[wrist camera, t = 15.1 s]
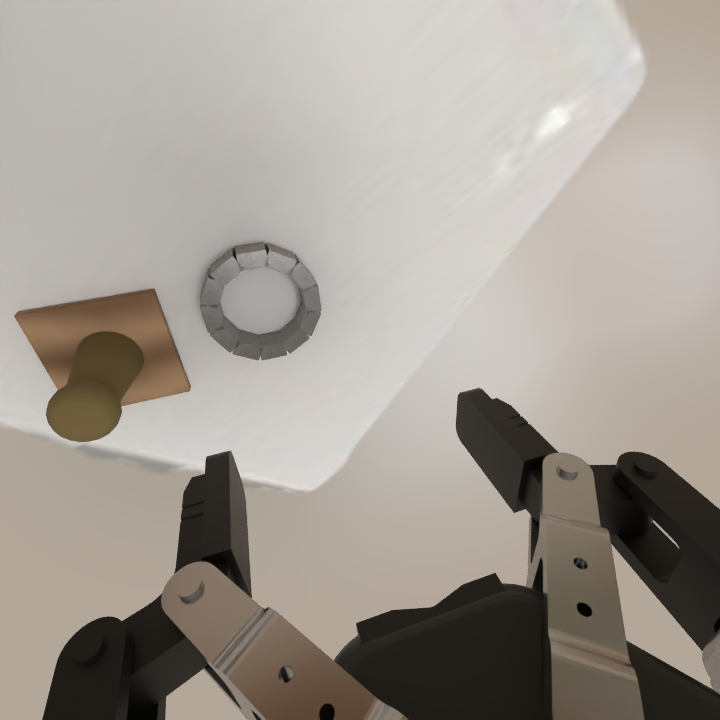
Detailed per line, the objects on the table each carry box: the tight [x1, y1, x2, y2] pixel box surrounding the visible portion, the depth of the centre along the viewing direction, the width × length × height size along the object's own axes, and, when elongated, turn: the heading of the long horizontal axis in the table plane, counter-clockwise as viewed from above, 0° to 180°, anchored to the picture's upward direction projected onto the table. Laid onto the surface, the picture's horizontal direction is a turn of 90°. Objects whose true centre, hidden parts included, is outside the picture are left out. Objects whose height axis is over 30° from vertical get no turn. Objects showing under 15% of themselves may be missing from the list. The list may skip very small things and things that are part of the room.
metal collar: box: [200, 242, 321, 360], centre depth 42 cm, size 12×12×3 cm
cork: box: [46, 331, 144, 442], centre depth 37 cm, size 6×6×11 cm
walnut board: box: [15, 289, 191, 406], centre depth 41 cm, size 12×12×1 cm
